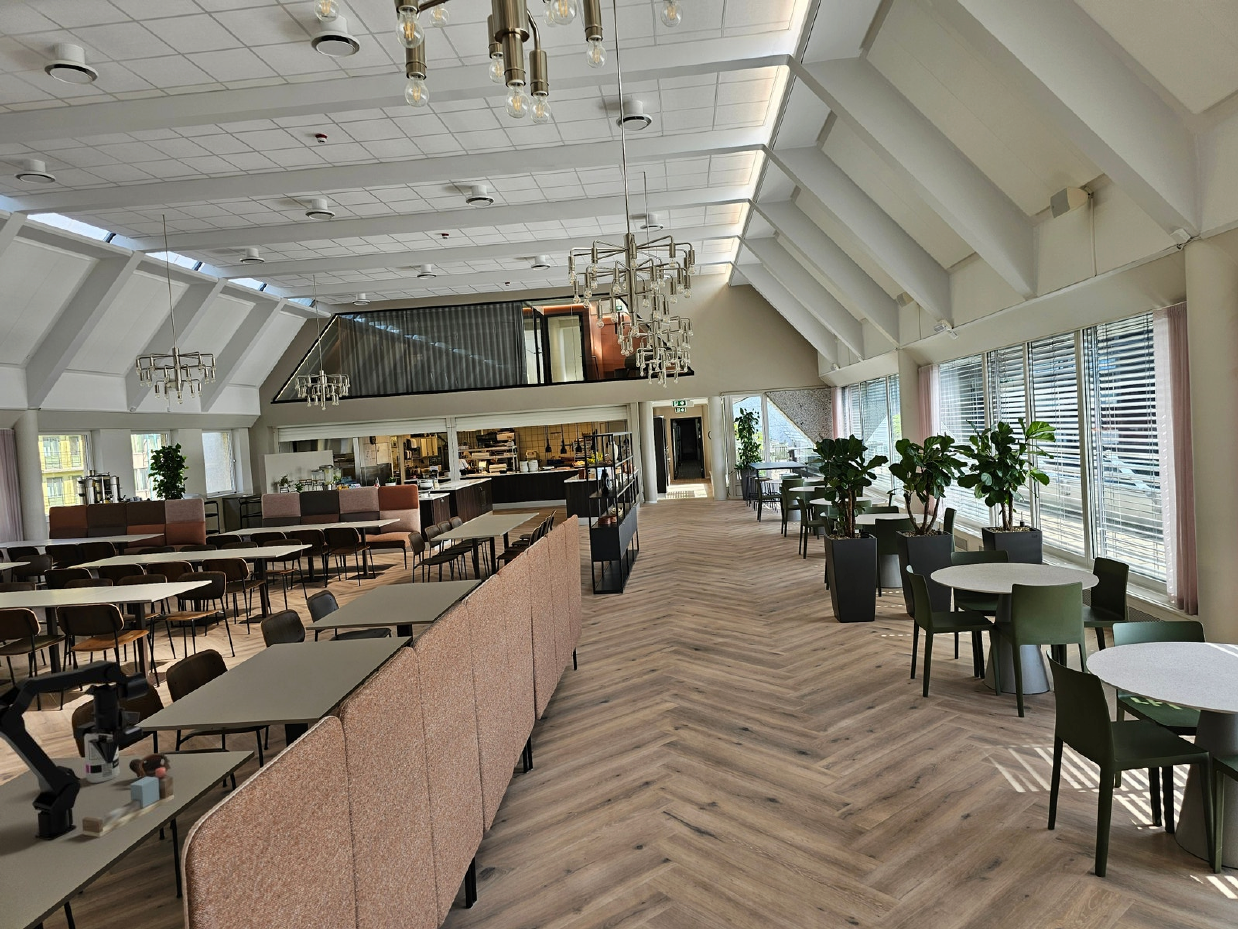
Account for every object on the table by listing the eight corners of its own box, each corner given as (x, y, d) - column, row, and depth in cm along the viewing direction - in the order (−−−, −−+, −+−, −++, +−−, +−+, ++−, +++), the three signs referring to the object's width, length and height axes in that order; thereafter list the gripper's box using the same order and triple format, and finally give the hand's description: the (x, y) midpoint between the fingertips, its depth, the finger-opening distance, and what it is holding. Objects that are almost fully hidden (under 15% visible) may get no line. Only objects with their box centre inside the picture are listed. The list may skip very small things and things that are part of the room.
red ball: (160, 778, 213) (160, 771, 213) (153, 777, 214) (153, 770, 214) (167, 774, 216) (167, 767, 216) (161, 774, 216) (160, 767, 216)
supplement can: (79, 782, 229) (77, 732, 228) (105, 771, 237) (103, 722, 236) (100, 785, 226) (97, 734, 226) (126, 773, 234) (123, 724, 234)
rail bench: (100, 837, 194) (98, 813, 194) (82, 834, 196) (81, 810, 196) (175, 797, 216) (174, 775, 216) (159, 795, 218) (158, 773, 218)
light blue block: (143, 807, 207) (142, 785, 207) (131, 806, 208) (130, 784, 208) (159, 799, 212) (158, 778, 212) (147, 798, 213) (146, 776, 213)
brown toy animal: (177, 771, 236) (176, 752, 232) (160, 797, 227) (159, 778, 224) (137, 764, 235) (135, 745, 231) (118, 790, 226) (116, 771, 223)
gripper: (158, 699, 215) (161, 754, 215) (108, 695, 220) (111, 749, 221) (122, 713, 204) (125, 771, 204) (70, 708, 210) (73, 765, 210)
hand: (109, 763), depth 210 cm, fingers closed
